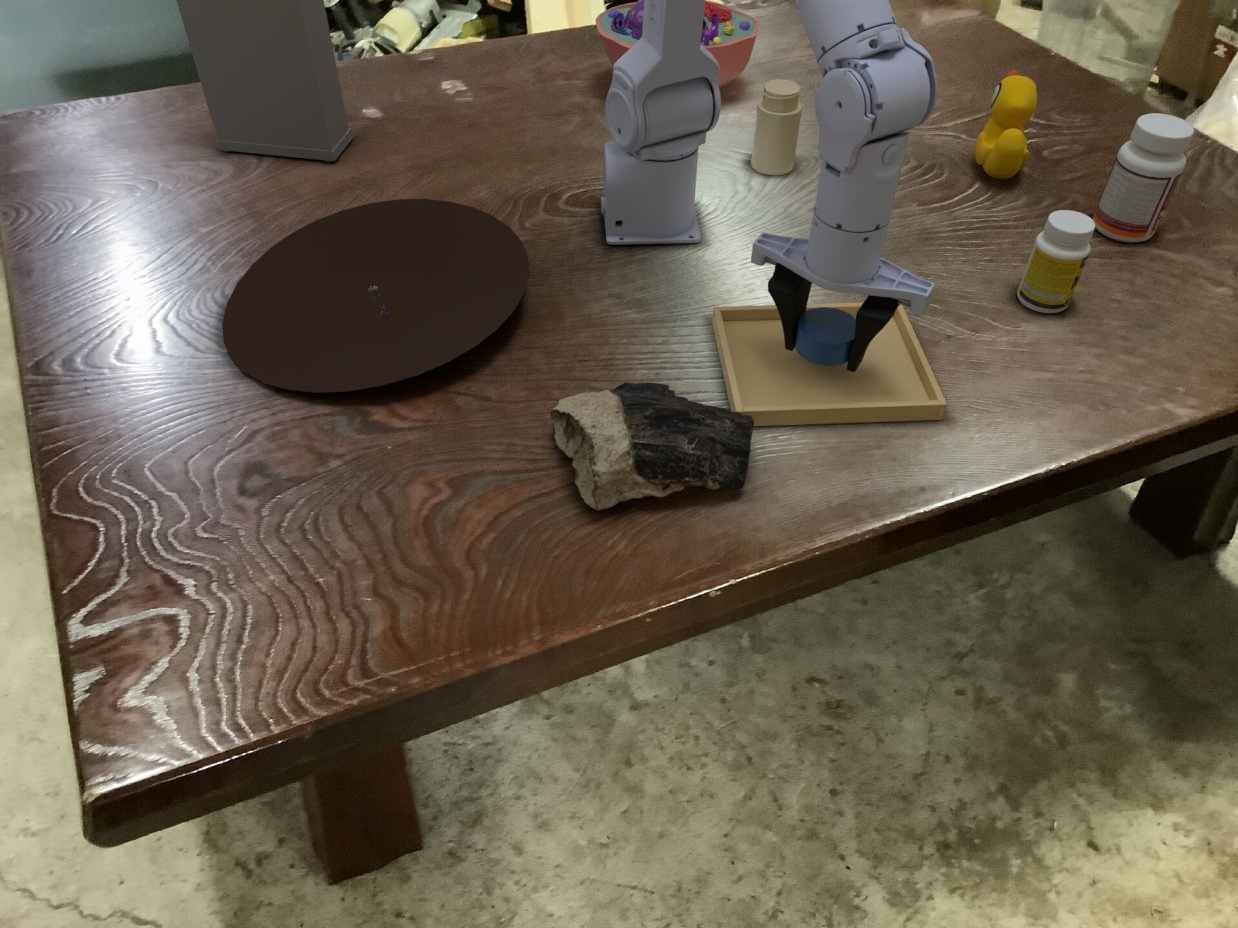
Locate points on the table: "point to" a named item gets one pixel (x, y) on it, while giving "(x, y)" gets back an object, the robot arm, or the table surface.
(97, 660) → the table surface
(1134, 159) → the pill bottle
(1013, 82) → the duckling
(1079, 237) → the supplement bottle
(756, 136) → the jar
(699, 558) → the table surface
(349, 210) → the dark brown round disc
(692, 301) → the table surface
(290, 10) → the grey upright box
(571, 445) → the mineral specimen
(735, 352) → the tray
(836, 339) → the lid
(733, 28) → the cell model
